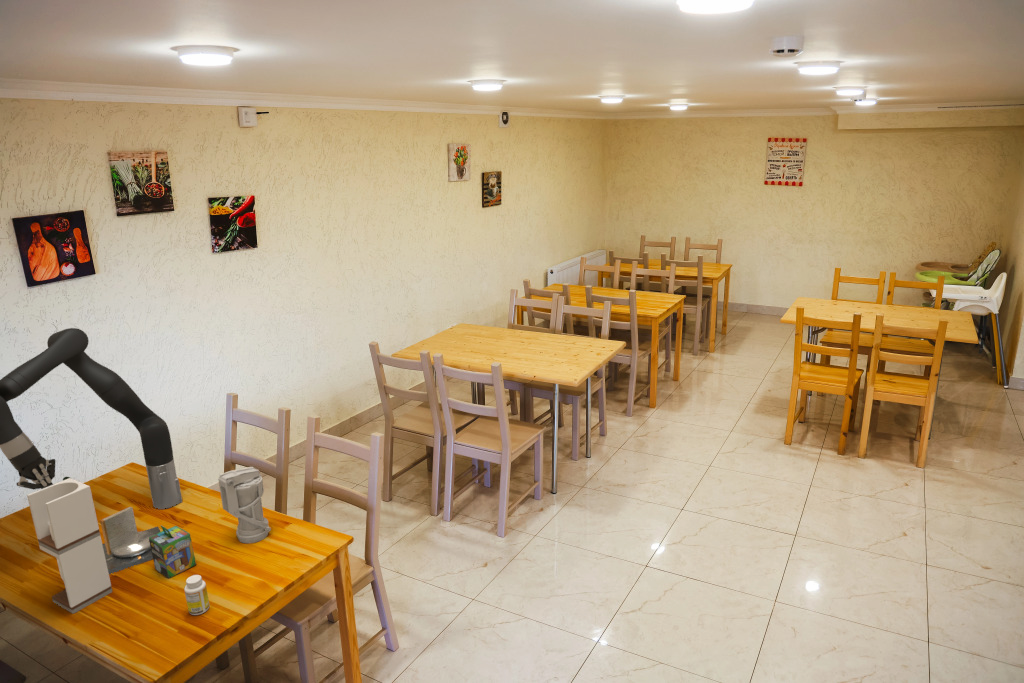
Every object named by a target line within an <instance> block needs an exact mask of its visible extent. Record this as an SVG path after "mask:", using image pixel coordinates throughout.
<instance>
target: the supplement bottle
mask: <svg viewBox="0 0 1024 683" xmlns="http://www.w3.org/2000/svg"><path fill="white" fill-rule="evenodd" d="M206 583H207V582H206V581H205V580H203V578H202V576H201V575H199V574H193V575H191V576H189V577H187V579H186V580H185V584H186V585H185V586H184V589H183V590H184V595H185V600H186V605H187V606H186V607H187V611H188V613H189V614H190V615H192V616H198V615H202V614H203V613H206V612H207V611H208V610H209V608H210V601H209V596H208V590H207V584H206Z"/></svg>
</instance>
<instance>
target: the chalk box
mask: <svg viewBox="0 0 1024 683" xmlns="http://www.w3.org/2000/svg"><path fill="white" fill-rule="evenodd" d="M160 528H161V529H162V531H161V532H159V533H158V534H156V535H154V536H151V537H149V542H150V547H151V551H152V556H153V559H152V560H153V565H154V569H155V570H156V571H157V572H158V573H160V574H161V575H163V576H164V577H165V578H167V579H168V580H169V579H171V578H173V577H175V576H176V575H179V574H181V573H182V572H184V571H186V570H188V569H190V568H192V567H194V566H196V565H197V561H196V557H195V552H194V548H193V543H192V538H191V537H192V536H191V533H190V532H188V531H186V530H185V529H183V528H182V527H179V526H177V525H175V526H172V527H169V528H166V527H165V526H163V525H162V524H161V525H160Z"/></svg>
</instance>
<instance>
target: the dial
mask: <svg viewBox="0 0 1024 683" xmlns="http://www.w3.org/2000/svg"><path fill="white" fill-rule="evenodd" d="M134 514H135V513H134V509H133V506H129V507H126V508H124V509H122V510H120V511H118V512H116V513H113V514H111V515H108V516H107V517H104V518H102V519H100V520H99V521H100V526H101V531H102V535H103V540H104V544H105V545H106V550H107V554H109V555H111V554H112V555H114V556H116V557H122V558H123V557H132V556H136V555H139V554H141V553H144V552H146V551H148V550H149V549H151V547H150V542H149V537H151V536H154V535H155V534H154V533H152V532H148V531H145V530H141V531H138V529H137V523H136V518H135V515H134Z"/></svg>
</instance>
